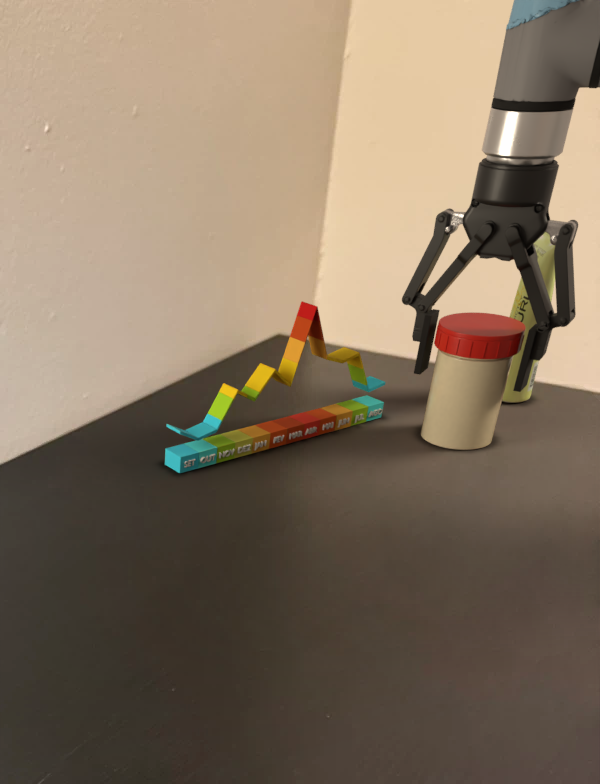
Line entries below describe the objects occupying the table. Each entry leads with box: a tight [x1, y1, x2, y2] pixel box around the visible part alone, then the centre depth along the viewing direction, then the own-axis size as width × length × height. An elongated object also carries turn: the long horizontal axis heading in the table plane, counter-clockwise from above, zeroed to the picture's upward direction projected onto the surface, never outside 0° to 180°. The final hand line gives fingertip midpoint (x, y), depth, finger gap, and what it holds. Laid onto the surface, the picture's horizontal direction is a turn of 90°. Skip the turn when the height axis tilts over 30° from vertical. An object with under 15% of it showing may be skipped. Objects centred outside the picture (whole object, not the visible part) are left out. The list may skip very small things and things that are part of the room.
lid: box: [433, 312, 526, 359], centre depth 109 cm, size 9×9×2 cm
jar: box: [420, 348, 513, 451], centre depth 112 cm, size 8×8×12 cm
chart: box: [164, 301, 386, 474], centre depth 112 cm, size 30×3×15 cm, turn 120°
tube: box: [502, 232, 555, 404], centre depth 120 cm, size 6×5×20 cm
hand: (469, 379), depth 112 cm, fingers open, 10 cm apart
